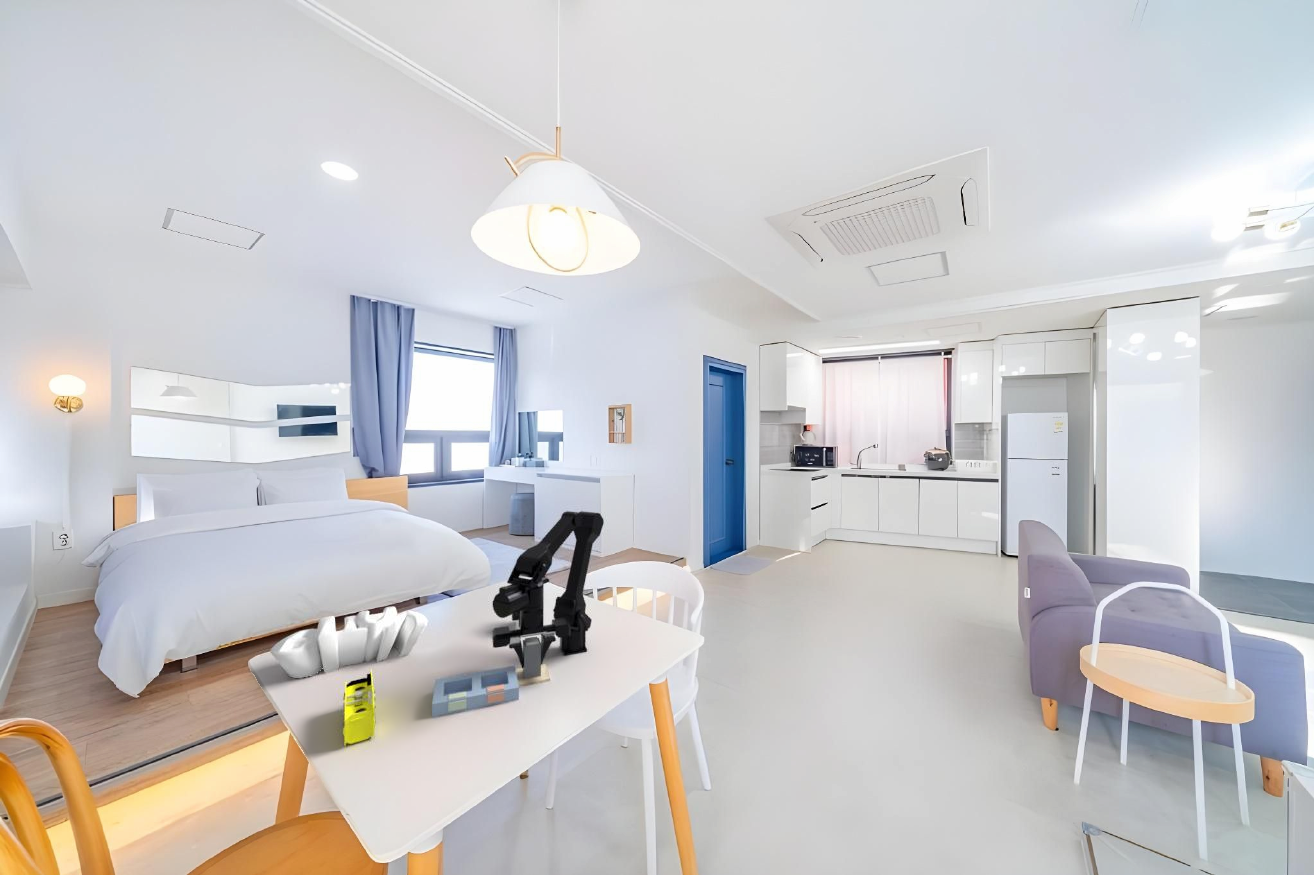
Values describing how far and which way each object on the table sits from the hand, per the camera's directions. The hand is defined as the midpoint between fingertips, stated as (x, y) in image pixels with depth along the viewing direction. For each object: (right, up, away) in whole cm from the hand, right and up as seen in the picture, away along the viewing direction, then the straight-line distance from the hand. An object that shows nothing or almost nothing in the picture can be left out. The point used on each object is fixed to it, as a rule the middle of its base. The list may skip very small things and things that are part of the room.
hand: (531, 666), depth 116 cm
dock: (-10, -3, -9) cm, 14 cm away
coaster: (0, -3, 0) cm, 3 cm away
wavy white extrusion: (-51, -3, +10) cm, 52 cm away
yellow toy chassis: (-31, -3, -19) cm, 37 cm away
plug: (0, -2, 0) cm, 2 cm away
